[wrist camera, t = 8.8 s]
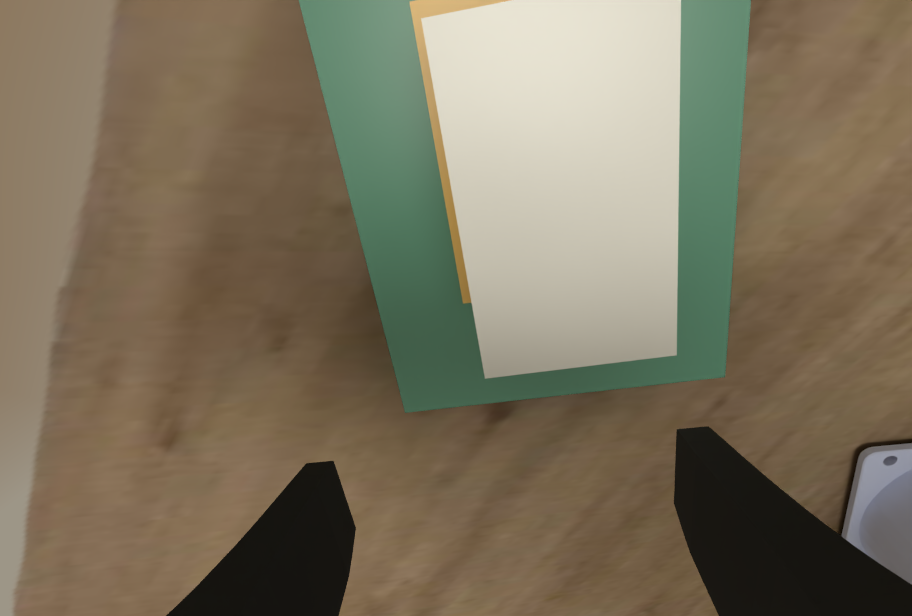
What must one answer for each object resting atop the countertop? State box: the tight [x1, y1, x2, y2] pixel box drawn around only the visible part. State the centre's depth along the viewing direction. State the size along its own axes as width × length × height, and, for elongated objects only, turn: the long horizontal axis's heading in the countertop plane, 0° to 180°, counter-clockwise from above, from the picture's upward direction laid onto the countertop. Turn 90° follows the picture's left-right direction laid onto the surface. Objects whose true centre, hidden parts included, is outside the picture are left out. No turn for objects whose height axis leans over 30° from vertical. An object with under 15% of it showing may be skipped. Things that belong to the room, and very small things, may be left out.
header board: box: [299, 0, 751, 413], centre depth 16 cm, size 12×18×4 cm, turn 9°
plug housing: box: [421, 0, 681, 379], centre depth 13 cm, size 4×8×6 cm, turn 10°
